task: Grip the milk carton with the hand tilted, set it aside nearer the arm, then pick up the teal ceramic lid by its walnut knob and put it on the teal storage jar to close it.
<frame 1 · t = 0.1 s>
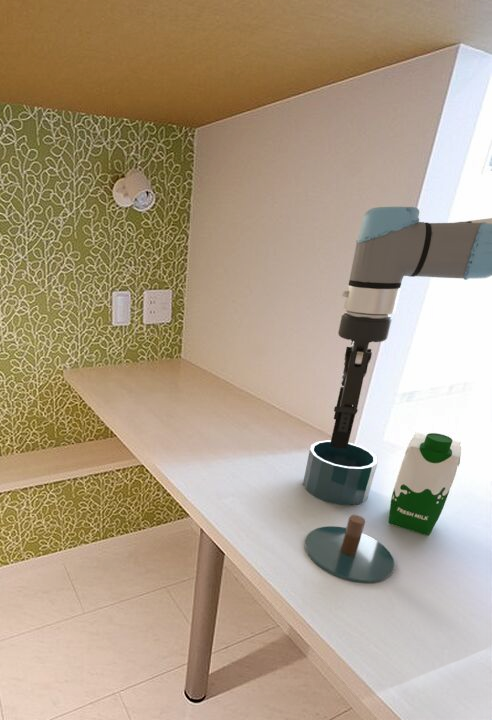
hand: (339, 432, 80), 20 cm above the table, tool pointing down, fingers open, 13 cm apart
jar: (334, 490, 99), on the table
jar lid: (347, 553, 79), point 1 cm above the table
milk carton: (409, 523, 88), on the table
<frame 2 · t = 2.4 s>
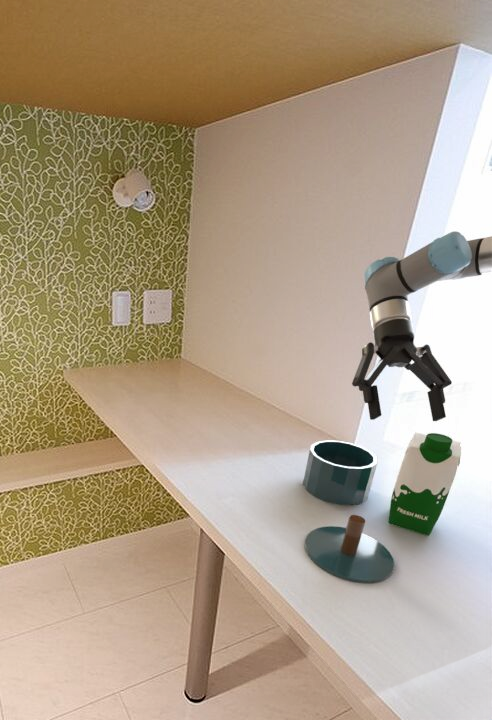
hand: (407, 418, 89), 19 cm above the table, tool tilted 40°, fingers open, 13 cm apart
nothing on the table moved.
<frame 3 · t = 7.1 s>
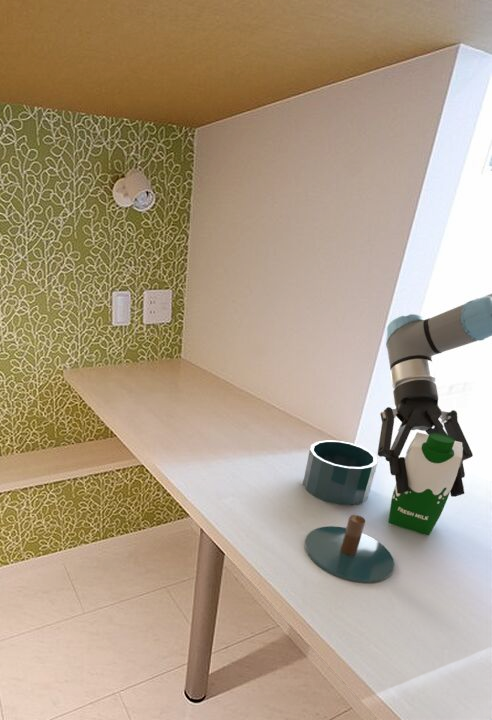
hand: (430, 493, 82), 9 cm above the table, tool tilted 45°, fingers closed on milk carton, 9 cm apart
milk carton: (408, 523, 88), on the table, touching gripper
everything else where it was.
when the fingers open (9 cm above the table, at t = 15.0 s): milk carton stays where it is, on the table.
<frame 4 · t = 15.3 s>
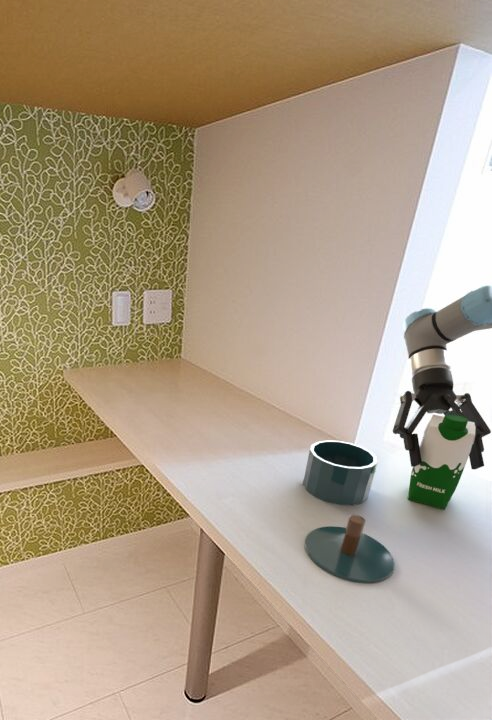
hand: (447, 466, 91), 9 cm above the table, tool tilted 45°, fingers open, 12 cm apart
milk carton: (426, 498, 97), on the table
everything else where it was.
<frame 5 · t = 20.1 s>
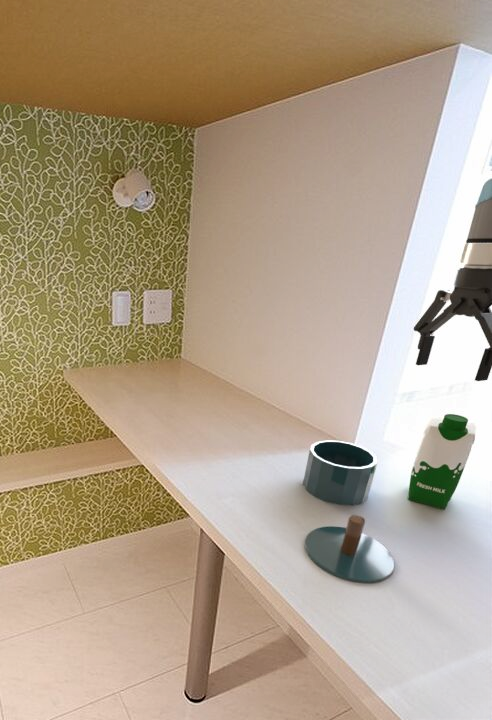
hand: (449, 372, 95), 26 cm above the table, tool pointing down, fingers open, 13 cm apart
nothing on the table moved.
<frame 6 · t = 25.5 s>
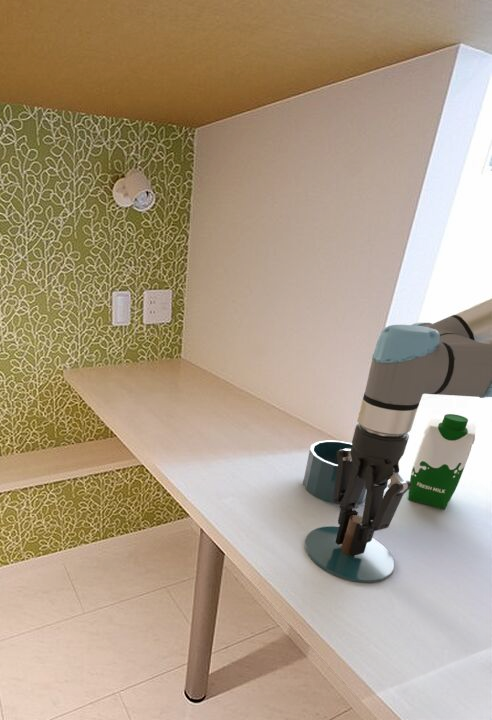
hand: (349, 547, 78), 2 cm above the table, tool pointing down, fingers closed on jar lid, 3 cm apart
jar lid: (347, 553, 79), point 1 cm above the table, touching gripper
everything else where it was.
when the fingers open (11 cm above the table, at t = 32.5 s): jar lid stays where it is, resting on jar.
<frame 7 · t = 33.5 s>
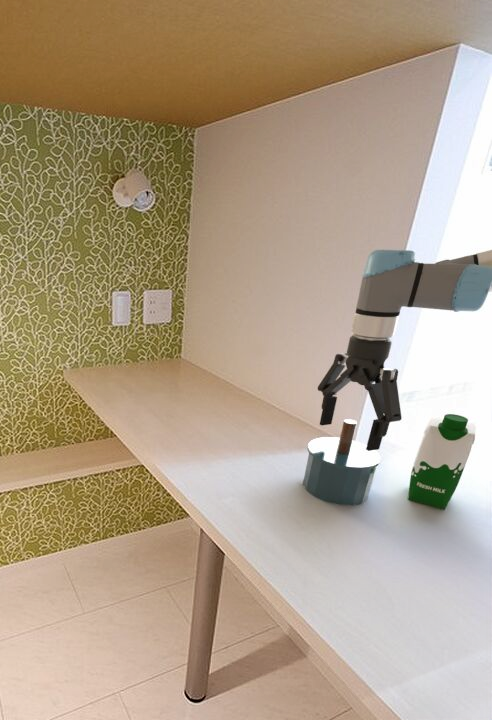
hand: (347, 436, 93), 14 cm above the table, tool pointing down, fingers open, 13 cm apart
jar lid: (342, 453, 95), point 9 cm above the table, touching jar
everything else where it was.
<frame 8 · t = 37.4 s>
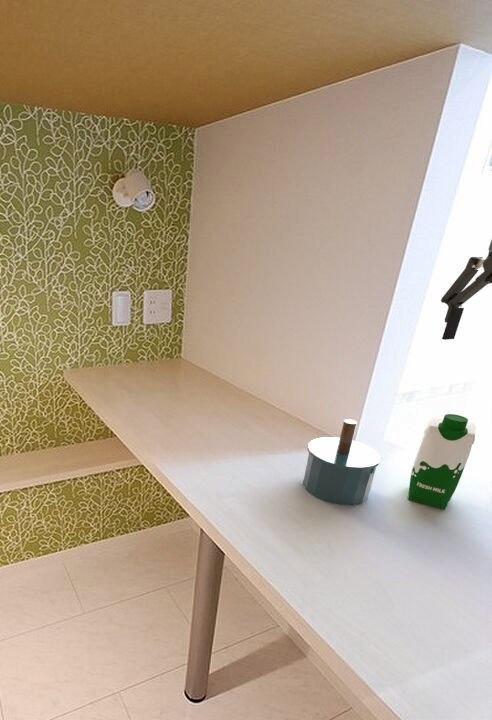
hand: (479, 346, 88), 33 cm above the table, tool pointing down, fingers open, 13 cm apart
nothing on the table moved.
at the end: jar lid 0.1 cm off-centre on the jar, point 9.5 cm above the jar's base; jar lid tilted 0°; milk carton inside the target area (0.0 cm from its centre), on the table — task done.
